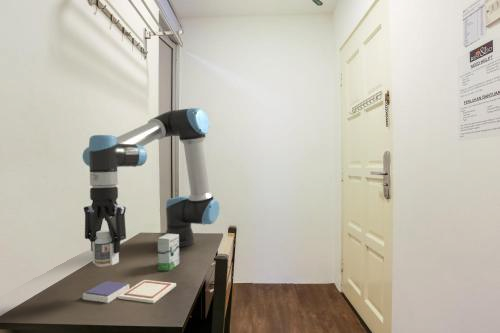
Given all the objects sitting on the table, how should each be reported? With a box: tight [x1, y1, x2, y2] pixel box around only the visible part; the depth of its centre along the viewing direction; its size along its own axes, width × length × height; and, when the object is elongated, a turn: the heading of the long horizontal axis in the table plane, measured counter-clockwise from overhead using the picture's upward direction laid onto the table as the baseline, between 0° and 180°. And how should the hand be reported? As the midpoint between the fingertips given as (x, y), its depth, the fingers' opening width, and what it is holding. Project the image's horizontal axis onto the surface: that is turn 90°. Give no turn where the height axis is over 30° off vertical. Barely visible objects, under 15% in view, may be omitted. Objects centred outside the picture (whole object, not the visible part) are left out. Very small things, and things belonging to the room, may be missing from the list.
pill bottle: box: [94, 229, 112, 267], centre depth 88 cm, size 6×6×10 cm
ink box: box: [157, 233, 180, 272], centre depth 111 cm, size 9×5×12 cm, turn 168°
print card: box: [117, 279, 177, 304], centre depth 89 cm, size 12×12×1 cm
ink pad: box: [82, 280, 130, 304], centre depth 88 cm, size 9×9×2 cm
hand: (105, 262), depth 88 cm, fingers closed on pill bottle, 6 cm apart
